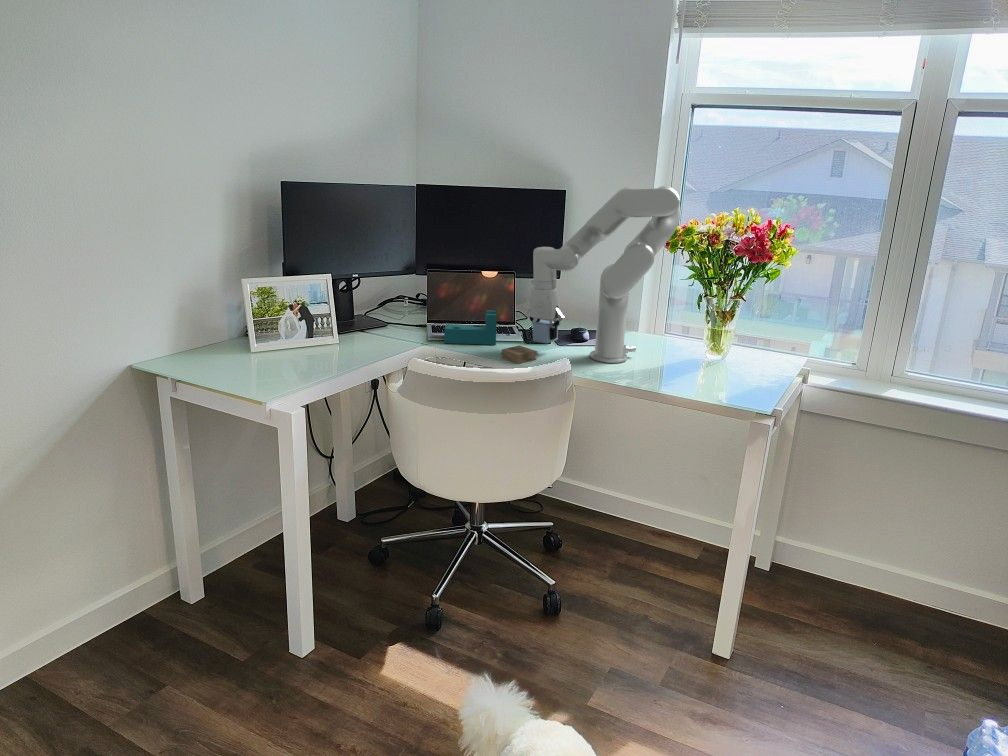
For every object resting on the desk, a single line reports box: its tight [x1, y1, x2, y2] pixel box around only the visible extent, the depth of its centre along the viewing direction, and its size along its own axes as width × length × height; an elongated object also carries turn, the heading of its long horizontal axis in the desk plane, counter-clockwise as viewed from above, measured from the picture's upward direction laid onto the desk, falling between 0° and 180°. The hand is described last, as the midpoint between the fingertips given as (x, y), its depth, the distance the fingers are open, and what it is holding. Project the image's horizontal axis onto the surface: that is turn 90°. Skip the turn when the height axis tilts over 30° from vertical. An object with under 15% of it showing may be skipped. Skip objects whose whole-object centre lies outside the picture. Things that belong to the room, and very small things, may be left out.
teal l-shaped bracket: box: [443, 310, 498, 346], centre depth 259 cm, size 18×11×10 cm, turn 92°
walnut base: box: [501, 345, 537, 365], centre depth 241 cm, size 8×8×3 cm
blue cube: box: [532, 320, 559, 344], centre depth 247 cm, size 6×6×6 cm
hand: (545, 336), depth 248 cm, fingers closed on blue cube, 6 cm apart
